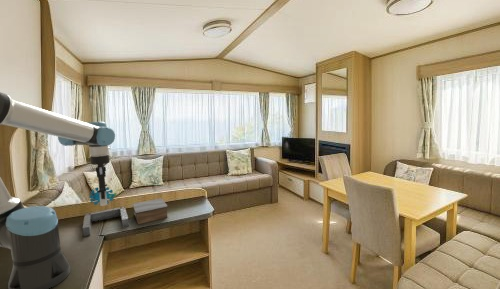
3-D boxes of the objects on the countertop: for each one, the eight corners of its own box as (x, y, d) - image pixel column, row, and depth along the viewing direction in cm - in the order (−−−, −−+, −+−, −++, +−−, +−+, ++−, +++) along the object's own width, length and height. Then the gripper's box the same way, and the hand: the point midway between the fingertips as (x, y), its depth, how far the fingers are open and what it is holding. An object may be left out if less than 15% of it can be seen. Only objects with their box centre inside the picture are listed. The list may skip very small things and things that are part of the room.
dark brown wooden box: (168, 217, 125) (167, 206, 124) (136, 224, 117) (135, 213, 117) (162, 208, 138) (161, 198, 137) (133, 214, 130) (132, 203, 129)
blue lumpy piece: (88, 204, 108) (90, 185, 114) (88, 211, 112) (90, 192, 117) (116, 203, 114) (117, 185, 119) (115, 209, 117) (116, 191, 123)
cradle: (128, 226, 116) (128, 218, 116) (83, 236, 107) (82, 228, 106) (125, 213, 131) (124, 206, 131) (85, 221, 122) (84, 214, 121)
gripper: (109, 157, 105) (113, 207, 108) (108, 151, 123) (111, 195, 125) (89, 158, 101) (93, 211, 104) (90, 153, 119) (94, 198, 121)
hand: (103, 202), depth 115 cm, fingers closed on blue lumpy piece, 8 cm apart
